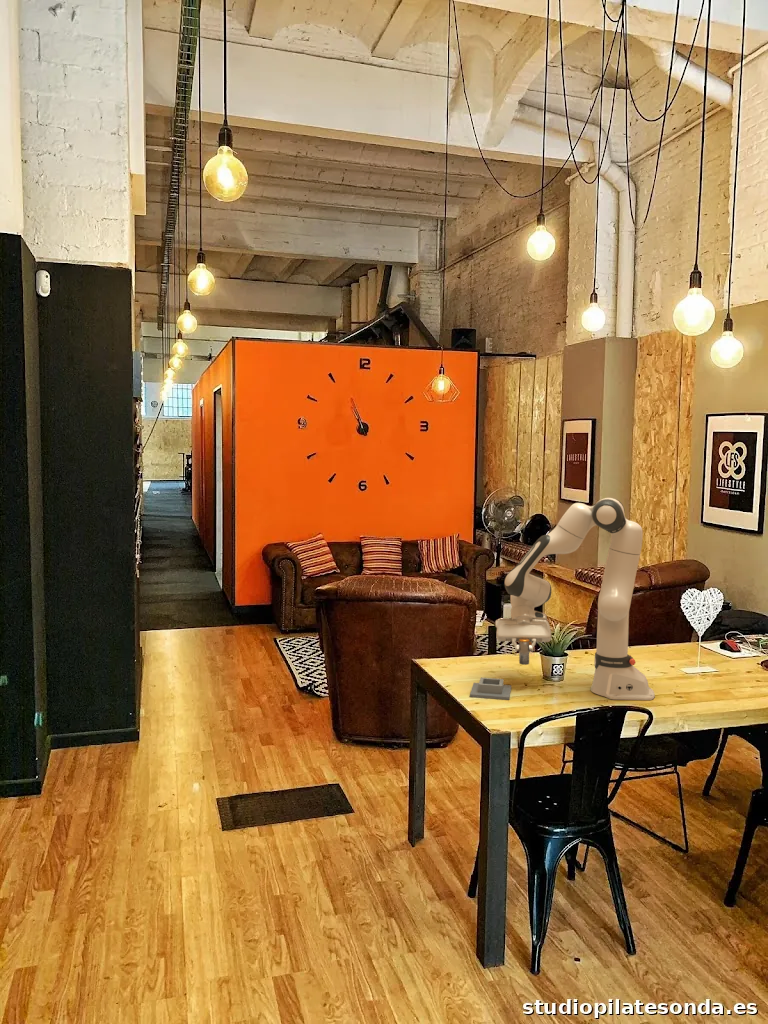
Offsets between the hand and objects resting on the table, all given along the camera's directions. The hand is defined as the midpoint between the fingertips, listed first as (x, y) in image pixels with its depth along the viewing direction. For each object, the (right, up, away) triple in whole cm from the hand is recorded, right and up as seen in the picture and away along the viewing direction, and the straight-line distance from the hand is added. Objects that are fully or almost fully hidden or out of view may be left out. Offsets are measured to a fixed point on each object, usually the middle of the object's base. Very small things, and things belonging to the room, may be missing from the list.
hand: (524, 650), depth 285 cm
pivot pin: (0, -5, +1) cm, 5 cm away
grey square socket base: (-12, -15, -1) cm, 20 cm away
